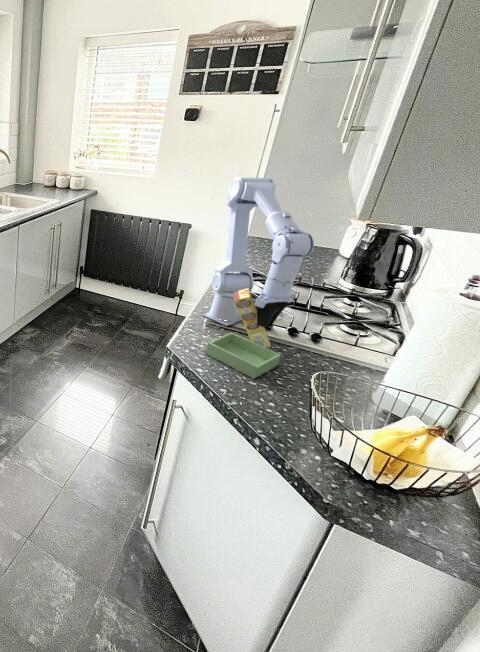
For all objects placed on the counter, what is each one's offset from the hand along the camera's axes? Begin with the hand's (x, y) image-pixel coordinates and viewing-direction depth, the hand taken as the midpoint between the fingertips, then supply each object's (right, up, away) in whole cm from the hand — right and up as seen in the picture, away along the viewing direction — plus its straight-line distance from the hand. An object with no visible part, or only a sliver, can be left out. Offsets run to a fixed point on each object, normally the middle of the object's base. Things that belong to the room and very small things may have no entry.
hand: (264, 324), depth 114 cm
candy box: (+3, -6, +5) cm, 8 cm away
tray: (-6, -10, +1) cm, 12 cm away
